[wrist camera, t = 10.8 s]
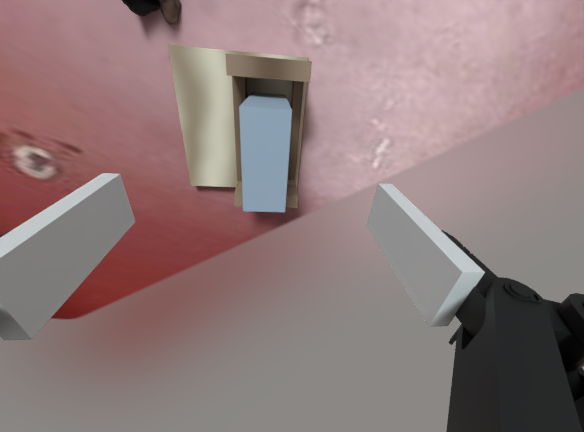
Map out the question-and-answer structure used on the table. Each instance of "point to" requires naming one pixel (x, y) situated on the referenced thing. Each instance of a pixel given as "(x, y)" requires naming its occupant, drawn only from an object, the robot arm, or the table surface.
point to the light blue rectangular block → (265, 151)
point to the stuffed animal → (155, 8)
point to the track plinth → (232, 109)
